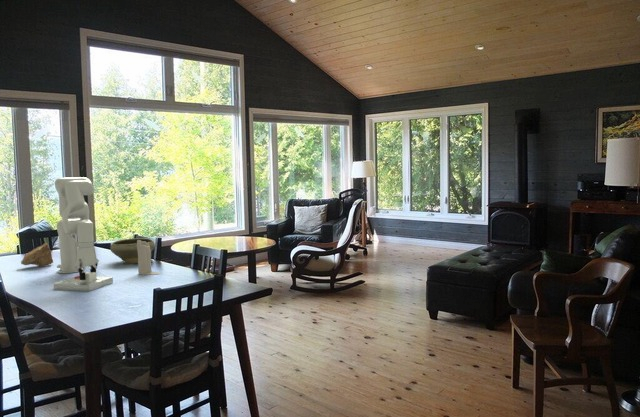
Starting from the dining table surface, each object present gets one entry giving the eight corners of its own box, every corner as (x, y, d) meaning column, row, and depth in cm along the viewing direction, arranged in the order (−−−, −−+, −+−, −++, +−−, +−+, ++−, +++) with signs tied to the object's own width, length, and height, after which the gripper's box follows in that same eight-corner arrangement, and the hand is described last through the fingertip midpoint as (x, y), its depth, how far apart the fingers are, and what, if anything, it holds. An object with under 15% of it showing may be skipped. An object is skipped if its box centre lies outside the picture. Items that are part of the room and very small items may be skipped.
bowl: (141, 256, 350) (140, 236, 349) (164, 261, 332) (163, 239, 331) (102, 262, 328) (101, 241, 327) (124, 267, 311) (124, 244, 310)
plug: (80, 287, 263) (79, 273, 262) (87, 284, 267) (86, 271, 267) (90, 287, 261) (89, 274, 260) (96, 285, 266) (96, 272, 265)
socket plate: (53, 289, 259) (53, 281, 259) (78, 281, 277) (78, 274, 276) (89, 291, 254) (89, 283, 253) (112, 282, 271) (112, 275, 270)
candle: (158, 275, 287) (156, 240, 285) (136, 274, 290) (134, 240, 288) (164, 272, 294) (162, 238, 292) (142, 271, 297) (141, 238, 295)
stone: (53, 263, 329) (51, 241, 328) (54, 266, 321) (52, 243, 319) (21, 267, 320) (19, 243, 318) (21, 269, 311) (19, 246, 310)
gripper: (91, 242, 272) (93, 274, 273) (67, 247, 255) (70, 281, 256) (103, 242, 270) (105, 274, 271) (80, 247, 253) (82, 282, 255)
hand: (88, 277), depth 264 cm, fingers open, 7 cm apart
